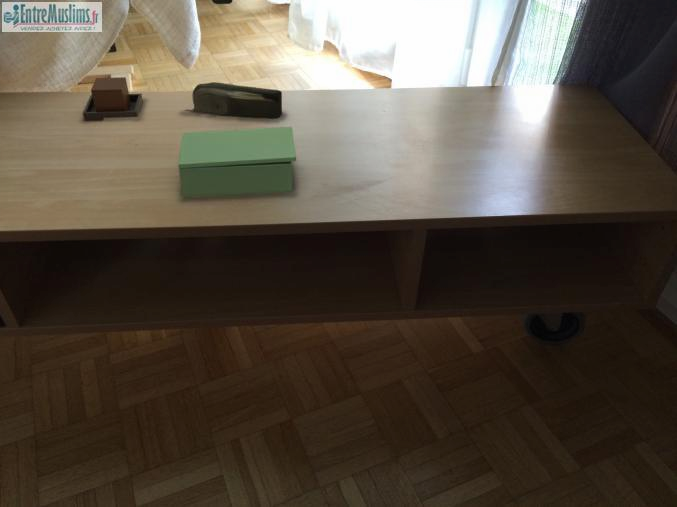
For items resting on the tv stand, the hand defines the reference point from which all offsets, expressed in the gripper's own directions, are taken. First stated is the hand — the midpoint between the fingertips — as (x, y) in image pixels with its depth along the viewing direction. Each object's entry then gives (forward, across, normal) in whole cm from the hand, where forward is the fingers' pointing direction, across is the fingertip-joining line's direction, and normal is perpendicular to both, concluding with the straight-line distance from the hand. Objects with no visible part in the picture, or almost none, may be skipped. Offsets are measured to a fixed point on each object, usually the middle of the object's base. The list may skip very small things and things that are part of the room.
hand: (222, 1), depth 66 cm
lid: (+18, 0, 0) cm, 18 cm away
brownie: (+23, -22, -19) cm, 37 cm away
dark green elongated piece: (+23, -19, -1) cm, 30 cm away
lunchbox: (+23, 0, 0) cm, 23 cm away
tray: (+23, -22, -19) cm, 37 cm away
